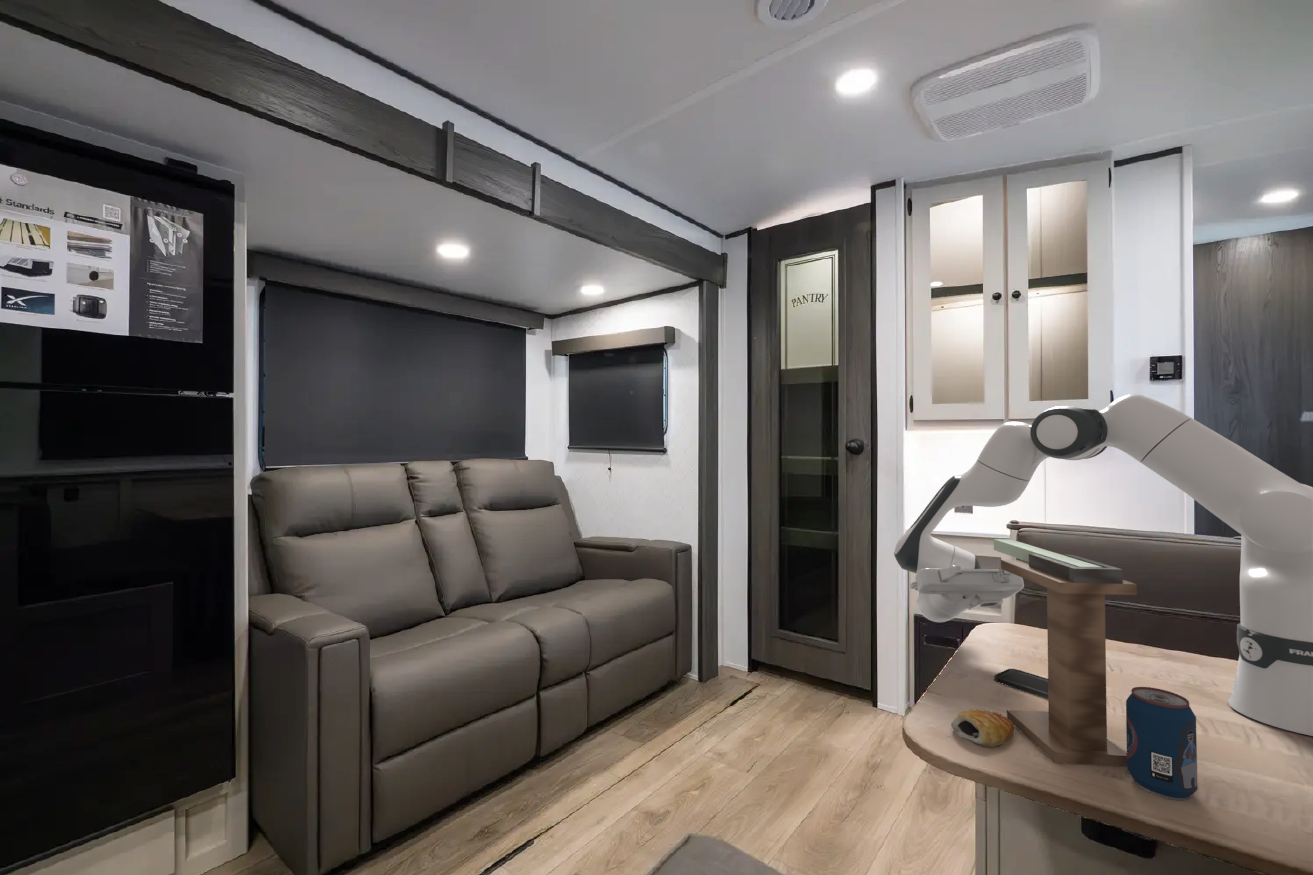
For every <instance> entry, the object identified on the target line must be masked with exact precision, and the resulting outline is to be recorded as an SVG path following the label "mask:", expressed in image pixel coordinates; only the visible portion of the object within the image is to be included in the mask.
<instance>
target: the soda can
mask: <svg viewBox="0 0 1313 875" xmlns="http://www.w3.org/2000/svg"><path fill="white" fill-rule="evenodd" d="M1125 711H1126V713H1125V714H1126V715H1125V716H1126V717H1125V718H1126V720H1125V722H1126V724H1125V725H1126V727H1125V728H1126V730H1125V731H1126V753H1127V767H1126V768H1127V772H1128V774H1130V776H1131V778H1132V780H1133V781H1134V783H1135V784H1136V785H1138V787H1140V788H1141V789H1143V790H1145V791H1147V792H1149V793H1151V794H1153V795H1156V796H1157V797H1161V798H1165V799H1170V800H1174V801H1175V800H1176V801H1187V800H1188V799H1190V798H1191V797H1193V795H1194V794H1195V793H1196V792H1197V791H1198V753H1197V752H1198V750H1197V749H1198V748H1197V746H1198V745H1197V717H1196V715H1195V713H1194V711H1193V710H1192V708H1191V706H1190V701H1189V700H1188V698H1185V697H1184V696H1182V695H1179V694H1177V693H1175V692H1173V691H1168V690H1166V689H1161V688H1157V687H1150V686H1136V687H1132V688H1131V691H1130V694H1129V695H1128V698H1127V699H1126V700H1125Z"/></svg>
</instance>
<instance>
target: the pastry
mask: <svg viewBox="0 0 1313 875" xmlns="http://www.w3.org/2000/svg"><path fill="white" fill-rule="evenodd" d="M950 727H951V729H952V730H953V731H955V732H956V733H957V734H958V735H957V734H956V733H955V732H954V733H955V734H956V735H957V736H959V737H960V736H961V738H962V737H963V738H962V739H965V740H967V739H968V740H967V741H970V742H973V743H974V744H976V745H979V746H983V747H986V748H987V747H988V748H992V747H994V748H995V747H998V746H999V745H1001V746H1003V745H1005V744H1006V743H1007V742H1008V741H1009V740H1011V739H1012V737H1014V732H1015V726H1014V725H1013V722H1012V721H1011V720H1008V719H1007V716H1006V717H1005V716H1003V715H1002V714H1001V713H999V712H995V711H990V710H985V709H984V710H982V709H981V710H980V709H974V708H969V709H967V710H961V711H960V712H959V713H958V714H957V716H956V717H955V718H954V719H953V721H952V722H951V723H950ZM1010 738H1011V739H1010Z"/></svg>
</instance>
